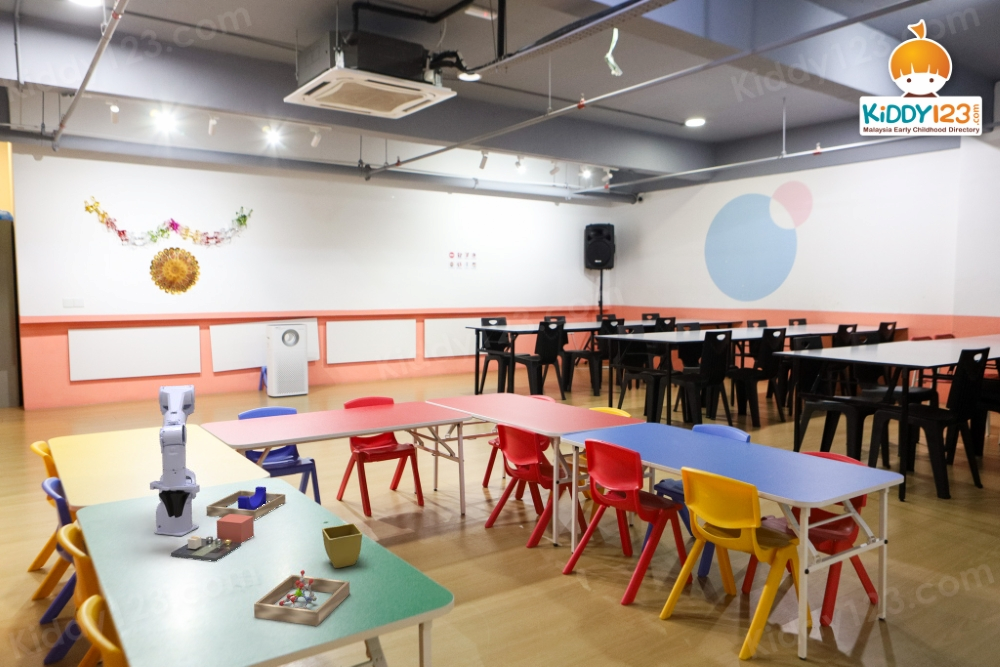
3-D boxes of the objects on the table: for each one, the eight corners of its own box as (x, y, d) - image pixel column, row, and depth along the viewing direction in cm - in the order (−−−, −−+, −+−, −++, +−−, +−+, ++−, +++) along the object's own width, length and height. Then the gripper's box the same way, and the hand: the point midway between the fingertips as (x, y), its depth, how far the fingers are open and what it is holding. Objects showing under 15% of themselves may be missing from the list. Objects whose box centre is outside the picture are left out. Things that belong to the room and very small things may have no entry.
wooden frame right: (254, 617, 146) (254, 604, 146) (291, 586, 161) (291, 574, 161) (317, 625, 142) (317, 612, 142) (349, 593, 157) (349, 581, 157)
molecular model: (308, 595, 156) (307, 565, 156) (321, 609, 150) (320, 577, 149) (277, 604, 152) (277, 573, 151) (289, 618, 146) (289, 585, 145)
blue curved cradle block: (254, 503, 222) (253, 486, 222) (266, 504, 221) (266, 487, 221) (233, 515, 210) (233, 497, 210) (246, 516, 210) (246, 498, 209)
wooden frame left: (206, 515, 210) (206, 506, 209) (240, 498, 226) (240, 490, 226) (254, 520, 206) (254, 511, 205) (285, 503, 222) (285, 494, 222)
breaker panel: (170, 556, 178) (170, 548, 178) (198, 541, 189) (198, 533, 188) (215, 561, 175) (215, 553, 175) (241, 546, 185) (241, 538, 185)
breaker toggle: (188, 548, 180) (187, 538, 180) (193, 544, 183) (193, 535, 183) (195, 549, 180) (195, 539, 180) (201, 545, 182) (201, 536, 182)
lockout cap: (217, 540, 189) (216, 520, 189) (229, 533, 195) (229, 513, 194) (241, 543, 187) (241, 523, 187) (253, 536, 193) (253, 516, 192)
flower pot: (329, 573, 168) (329, 539, 168) (321, 560, 176) (321, 528, 175) (363, 566, 172) (362, 533, 172) (354, 554, 180) (354, 522, 180)
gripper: (140, 470, 179) (142, 518, 180) (186, 474, 176) (187, 523, 177) (159, 463, 186) (161, 510, 187) (204, 467, 182) (205, 514, 183)
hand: (175, 516), depth 182 cm, fingers closed
